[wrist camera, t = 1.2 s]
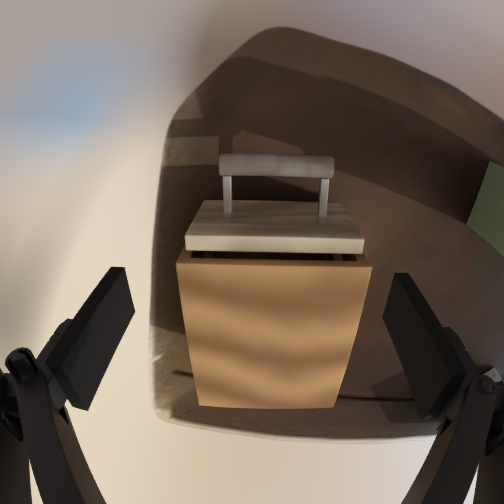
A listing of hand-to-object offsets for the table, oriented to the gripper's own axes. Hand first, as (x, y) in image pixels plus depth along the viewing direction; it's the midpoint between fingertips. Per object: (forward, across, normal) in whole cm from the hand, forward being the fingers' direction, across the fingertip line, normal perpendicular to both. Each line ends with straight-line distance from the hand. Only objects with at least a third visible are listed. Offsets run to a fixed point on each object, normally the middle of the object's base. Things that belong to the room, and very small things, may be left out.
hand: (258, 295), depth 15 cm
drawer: (+15, +1, -6) cm, 16 cm away
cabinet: (+16, +1, -11) cm, 19 cm away
